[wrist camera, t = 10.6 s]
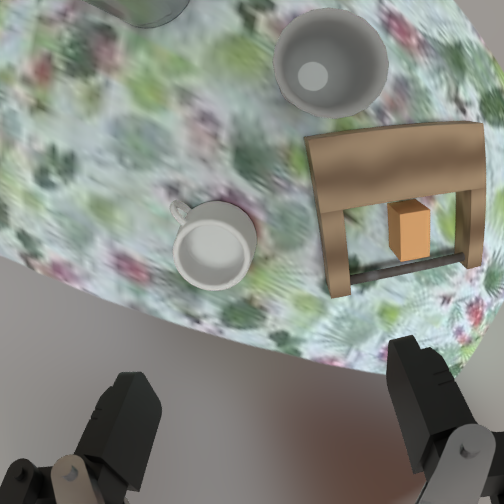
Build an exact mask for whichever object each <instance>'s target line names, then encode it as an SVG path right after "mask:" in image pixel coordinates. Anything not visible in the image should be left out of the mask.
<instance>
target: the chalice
mask: <svg viewBox="0 0 504 504" xmlns="http://www.w3.org/2000/svg"><path fill="white" fill-rule="evenodd" d="M273 66H274V71H275V77H276V81H277V82H278V84H279V87H280V91H281V93H282V95H283V97H284V98H285V99H286V100H287V101H288V102H289V103H291V104H294V105H296V106H297V107H298V108H299V109H301V110H303V111H305V112H307V113H310V114H312V115H314V116H316V117H323V118H332V119H337V118H342V117H348V116H353V115H355V114H356V113H358V112H360V111H362V110H364V109H366V108H368V107H369V106H370V105H371V104H372V103H373V101H374V100H375V99H376V98H377V97H378V96H379V95H380V93H381V91H382V89H383V87H384V85H385V83H386V81H387V74H388V67H389V62H388V57H387V51H386V47H385V45H384V43H383V41H382V39H381V38H380V36H379V34H378V32H377V31H376V30H375V29H374V28H373V27H372V26H371V25H370V24H369V23H368V22H367V21H366V20H365V19H363V18H361V17H359V16H357V15H355V14H353V13H351V12H349V11H346V10H340V9H334V8H323V9H316V10H311V11H309V12H307V13H304V14H302V15H300V16H298V17H296V18H295V19H294V20H293V21H292V22H291V23H290V24H289V25H288V26H287V27H285V28H284V29H283V31H282V33H281V35H280V37H279V39H278V41H277V43H276V45H275V50H274V57H273Z"/></svg>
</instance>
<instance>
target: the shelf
mask: <svg viewBox="0 0 504 504" xmlns="http://www.w3.org/2000/svg"><path fill="white" fill-rule="evenodd" d="M304 140H305V146H306V151H307V156H308V162H309V167H310V173H311V179H312V185H313V191H314V197H315V203H316V209H317V216H318V222H319V229H320V236H321V243H322V251H323V258H324V266H325V274H326V282H327V286H328V289H329V292H330V296H331V299H332V298H337V297H343V296H348V295H351V288H350V285H353V284H358V283H363V282H368V281H373V280H378V279H383V278H388V277H393V276H398V275H403V274H407V273H412V272H417V271H421V270H426V269H430V268H435V267H439V266H444V265H448V264H452V263H457V262H460V263H461V264H462V265H463V266H464V267H465V268H466V269H470V268H474V267H478V266H481V262H482V253H483V242H484V229H485V211H486V157H485V139H484V126H483V123H478V122H471V121H446V122H428V123H414V124H402V125H391V126H381V127H372V128H363V129H355V130H347V131H340V132H333V133H326V134H319V135H313V136H307V137H304ZM451 192H456V231H455V251H454V254H452V255H447V256H443V257H438V258H433V259H429V260H424V261H419V262H415V263H410V264H405V265H400V266H395V267H390V268H385V269H380V270H375V271H370V272H365V273H359V274H354V275H350V274H349V263H348V252H347V242H346V232H345V223H344V215H343V209H349V208H355V207H361V206H367V205H373V204H379V203H386V202H392V201H398V200H404V199H411V198H417V197H424V196H431V195H437V194H444V193H451Z"/></svg>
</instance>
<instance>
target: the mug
mask: <svg viewBox="0 0 504 504" xmlns="http://www.w3.org/2000/svg"><path fill="white" fill-rule="evenodd" d="M177 207H178V208H180V209H182V210H183V211H185V212H186V213H187V215H186V217H185V218H183V217H182V215H181V214H180V213H179V211H178V209H177ZM170 211H171V213H172V215H173V216H174V218H175V219H176V220H177V221H178V222H179V223H180V224H181V226H180V228H179V230H178V233H177V236H176V239H175V242H174V245H173V258H174V263H175V265H176V267H177V269H178V272H179V273H180V274H181V275H182V276H183V278H184V279H185V280H187V281H188V282H189V283H191V284H192V285H194V286H196V287H198V288H201V289H205V290H209V291H220V290H224V289H228V288H230V287H232V286H234V285H236V284H237V283H239V282H240V281H241V280H242V279H243V278H244V277H245V275H246V273H247V271H248V269H249V267H250V264H251V262H252V259H253V257H254V254H255V250H256V245H257V237H256V230H255V228H254V225H253V222H252V221H251V219H250V218H249V217H248V215H247V214H246V213H245V212H244V211H242V210H241V209H240V208H239V207H237V206H234V205H232V204H230V203H227V202H222V201H211V202H206V203H203V204H200V205H198V206H197V207H195V208H194V209H191V208H190V207H188V206H187V205H186V204H185V203H183V202H181V201H179V200H175V201H173V202H172V203H171V205H170Z"/></svg>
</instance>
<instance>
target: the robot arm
mask: <svg viewBox="0 0 504 504" xmlns="http://www.w3.org/2000/svg"><path fill="white" fill-rule="evenodd" d="M82 1H85V2H87V3H89V4H91V5H93V6H95V7H97V8H100V9H102V10H104V11H106V12H108V13H110V14H112V15H114V16H116V17H118V18H119V19H121V20H123V21H125V22H127V23H129V24H131V25H133V26H136V27H140V28H153V27H157V26H161V25H163V24H165V23H167V22H169V21H171V20H172V19H174V18H175V17H176V16H178V15H179V14H180V13H181V12H182V11H183V9H184V8H185V7H186V5H187V3H188V2H189V0H82ZM386 379H387V386H388V391H389V394H390V397H391V399H392V403H393V406H394V409H395V412H396V415H397V419H398V422H399V425H400V429H401V432H402V435H403V439H404V442H405V445H406V449H407V452H408V456H409V460H410V463H411V467H412V470H413V474H416V473H419V472H423V471H424V474H425V477H426V483H425V485H424V487H423V489H422V491H421V493H420V495H419V497H418V499H417V500H416V502H415V504H478V501H479V498H480V497H486V496H490V499H491V503H492V504H504V432H492V431H490V430H489V429H487V428H486V427H484V426H482V425H479V424H478V423H477V422H476V421H475V419H474V418H473V416H472V413H471V411H470V409H469V407H468V405H467V403H466V402H465V399H464V397H463V395H462V393H461V391H460V389H459V387H458V385H457V383H456V382H455V381H454V377H453V375H452V374H451V372H449V368H448V366H447V364H446V362H445V361H444V359H443V357H442V356H441V355H440V354H439V353H437V352H436V351H435V350H433V349H432V348H431V347H428V348H425V349H420V347H419V345H418V343H417V341H416V339H415V337H414V336H413V335H409V336H405V337H401V338H397V339H393V340H390V341H389V343H388V357H387V370H386ZM161 415H162V407H161V402H160V400H159V398H158V397H157V395H156V393H155V392H154V390H153V388H152V387H151V385H150V383H149V382H148V380H147V378H146V377H145V375H144V374H143V373H142V372H121V373H119V375H118V377H117V379H116V381H115V382H114V385H113V386H110V387H109V388H108V389H107V390H106V391H105V392H104V393H103V394H102V396H101V397H100V399H99V401H98V403H97V405H96V407H95V411H93V413H92V415H91V420H89V422H88V424H87V426H86V428H85V430H84V432H83V435H82V437H81V439H80V442H79V444H78V446H77V448H76V450H75V452H74V454H70V455H65V456H63V457H61V458H60V459H58V460H57V461H56V463H55V464H54V466H51V467H38V468H37V467H36V466H35V465H34V464H32V463H31V462H30V461H29V460H27V459H24V458H23V459H18V460H16V461H15V462H13V463H12V464H11V465H10V467H9V468H8V470H7V473H6V475H5V477H4V480H3V482H2V485H1V487H0V504H130V503H129V501H128V499H127V498H126V497H125V495H126V491H127V490H130V491H137V492H139V491H140V488H141V484H142V480H143V477H144V473H145V470H146V466H147V463H148V459H149V456H150V452H151V449H152V446H153V442H154V439H155V435H156V432H157V429H158V425H159V422H160V419H161Z"/></svg>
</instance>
